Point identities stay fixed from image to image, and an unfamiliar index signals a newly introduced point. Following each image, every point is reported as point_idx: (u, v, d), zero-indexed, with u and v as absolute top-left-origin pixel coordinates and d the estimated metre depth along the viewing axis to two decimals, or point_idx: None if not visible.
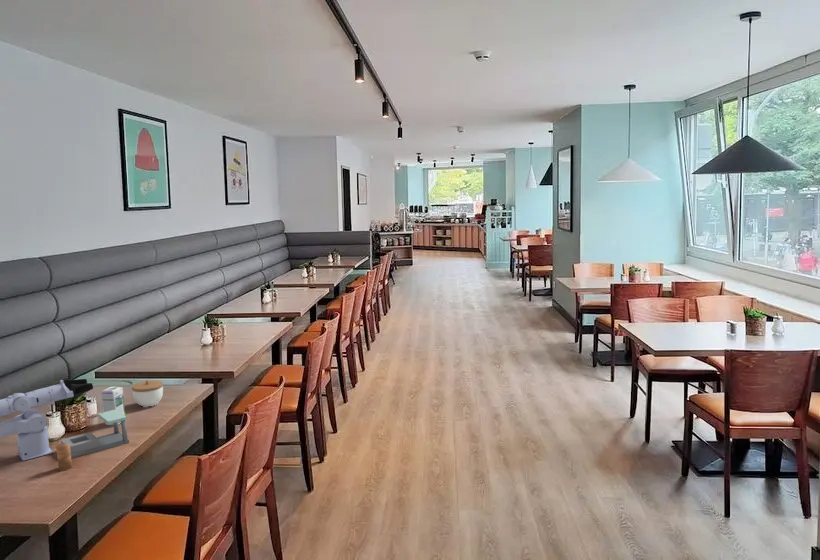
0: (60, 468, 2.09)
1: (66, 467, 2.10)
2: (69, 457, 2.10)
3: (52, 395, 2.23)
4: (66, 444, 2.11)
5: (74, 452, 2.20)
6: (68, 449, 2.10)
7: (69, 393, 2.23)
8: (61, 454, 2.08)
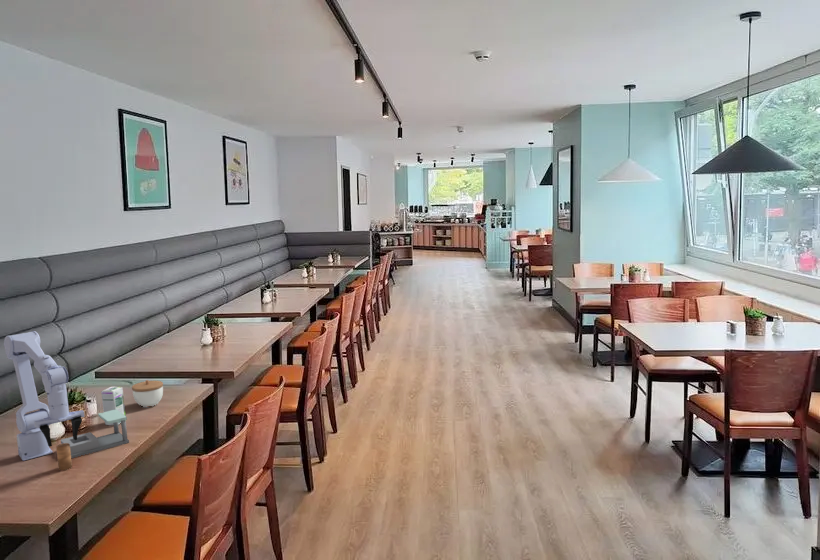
0: (60, 468, 2.09)
1: (66, 467, 2.10)
2: (69, 457, 2.10)
3: (49, 407, 2.06)
4: (66, 444, 2.11)
5: (74, 452, 2.20)
6: (68, 449, 2.10)
7: (35, 424, 2.04)
8: (61, 454, 2.08)
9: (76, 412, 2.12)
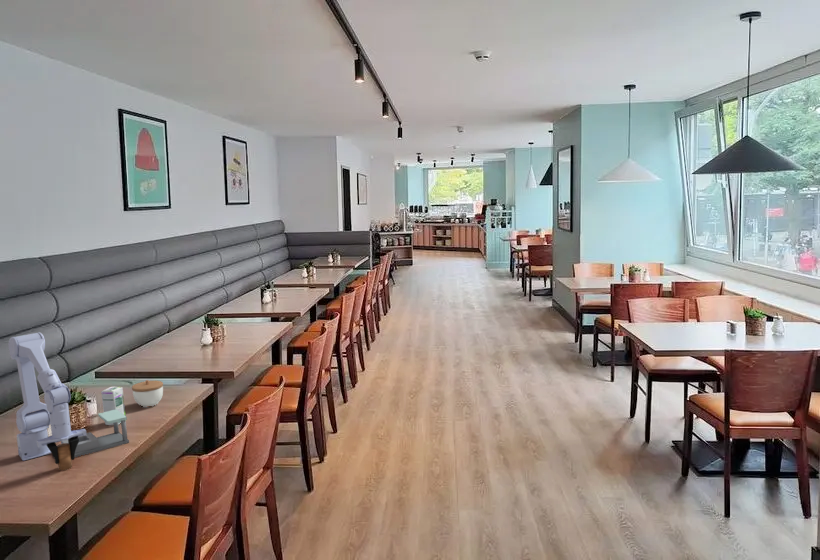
0: (60, 468, 2.09)
1: (66, 467, 2.10)
2: (69, 457, 2.10)
3: (51, 426, 2.07)
4: (66, 444, 2.11)
5: None
6: (68, 449, 2.10)
7: (37, 443, 2.04)
8: (61, 454, 2.08)
9: (78, 431, 2.13)
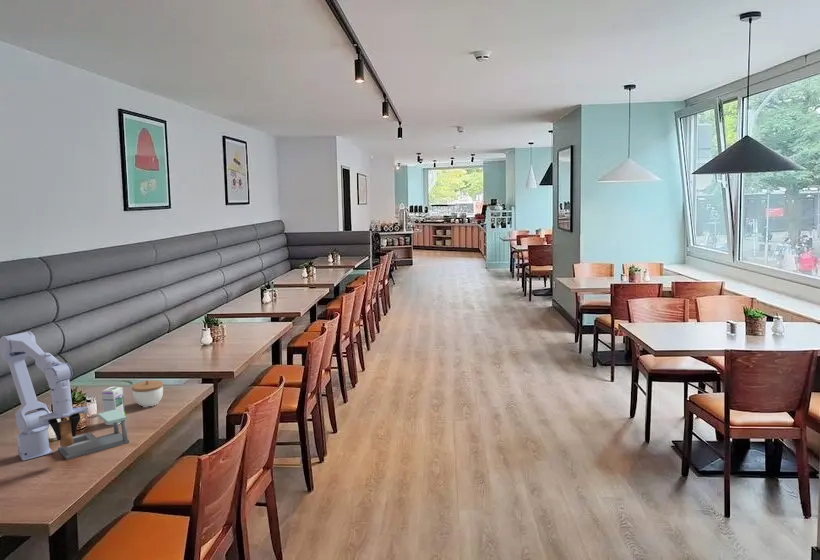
0: (61, 444, 2.12)
1: (67, 443, 2.12)
2: (70, 434, 2.13)
3: None
4: (68, 421, 2.13)
5: (74, 452, 2.20)
6: (69, 426, 2.12)
7: (39, 419, 2.07)
8: (63, 430, 2.11)
9: (79, 408, 2.15)
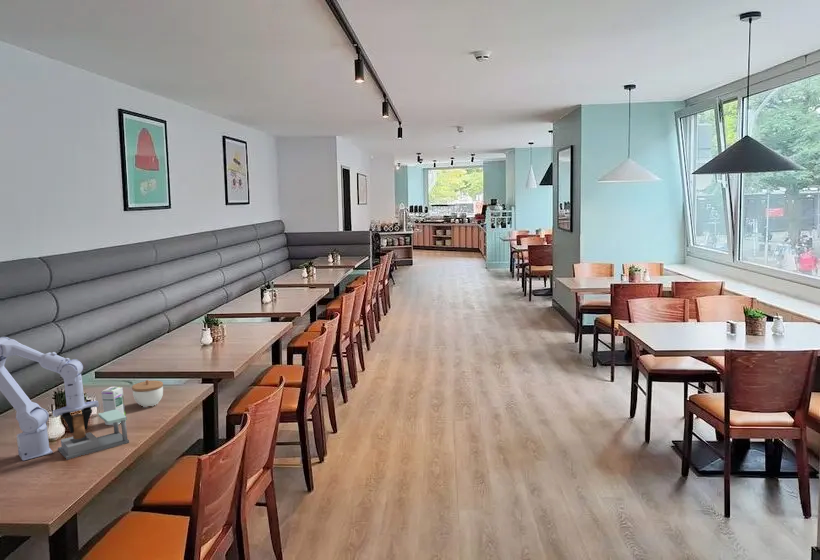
0: (74, 437, 2.23)
1: (80, 436, 2.23)
2: (83, 427, 2.24)
3: (66, 397, 2.21)
4: (80, 414, 2.25)
5: (74, 452, 2.20)
6: (82, 419, 2.24)
7: (53, 413, 2.19)
8: (75, 423, 2.22)
9: (91, 402, 2.27)
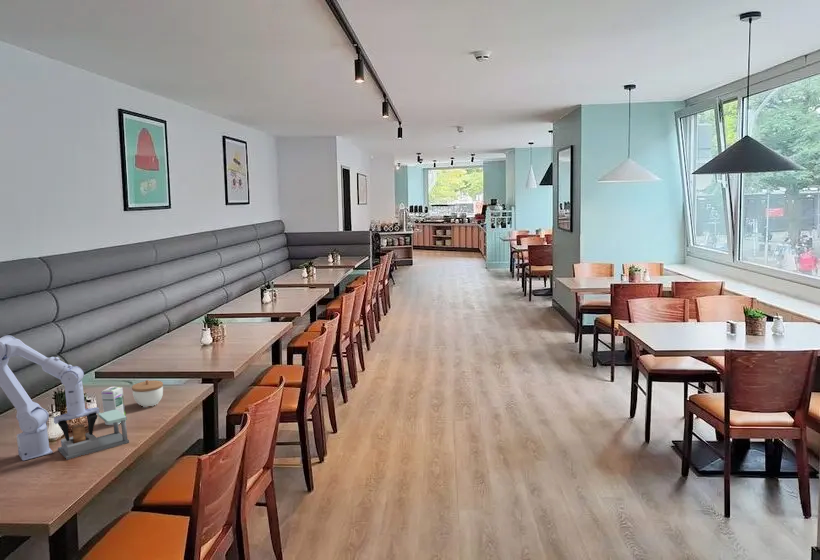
0: None
1: None
2: (83, 437, 2.25)
3: None
4: (81, 425, 2.25)
5: (74, 452, 2.20)
6: (83, 430, 2.24)
7: (54, 420, 2.19)
8: (76, 434, 2.23)
9: (92, 409, 2.27)
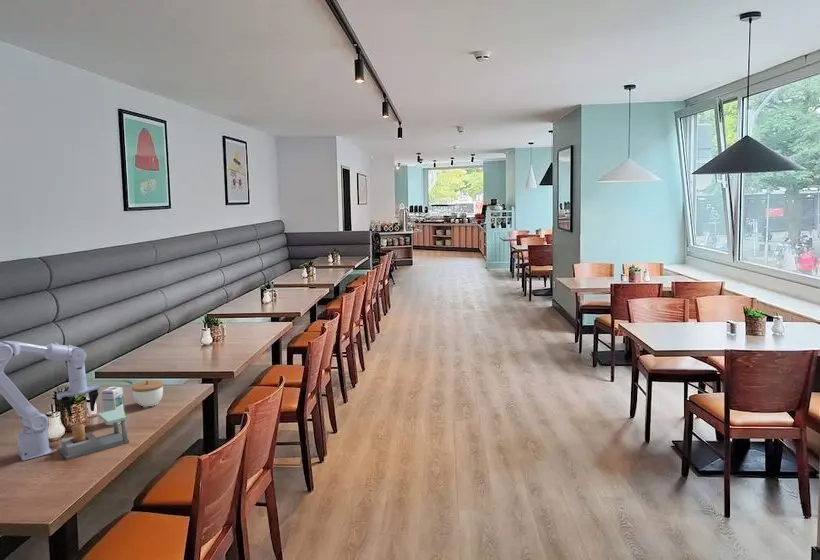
0: None
1: None
2: (83, 437, 2.25)
3: (69, 381, 2.31)
4: (81, 425, 2.26)
5: (74, 452, 2.20)
6: (82, 430, 2.24)
7: (57, 396, 2.28)
8: (76, 434, 2.23)
9: (93, 386, 2.37)
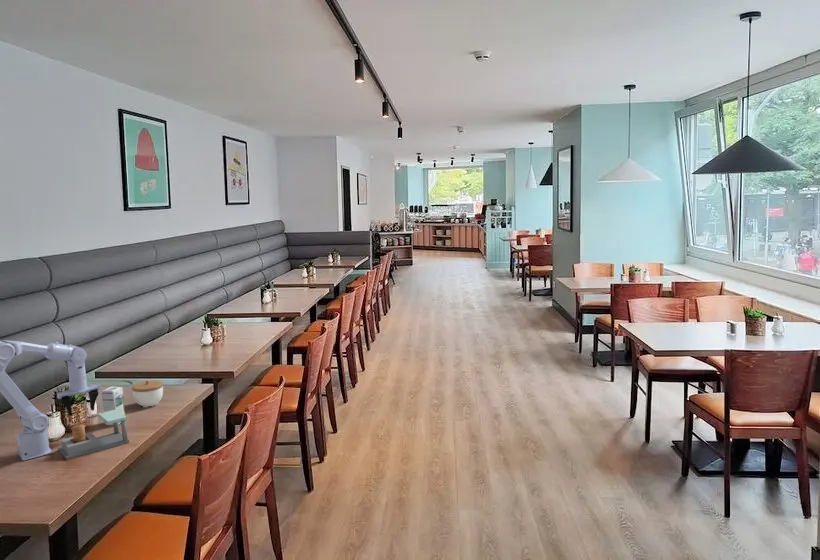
0: None
1: None
2: (83, 438, 2.25)
3: (69, 380, 2.32)
4: (81, 425, 2.25)
5: (74, 452, 2.20)
6: (82, 430, 2.24)
7: (57, 395, 2.29)
8: (76, 434, 2.23)
9: (93, 386, 2.37)
